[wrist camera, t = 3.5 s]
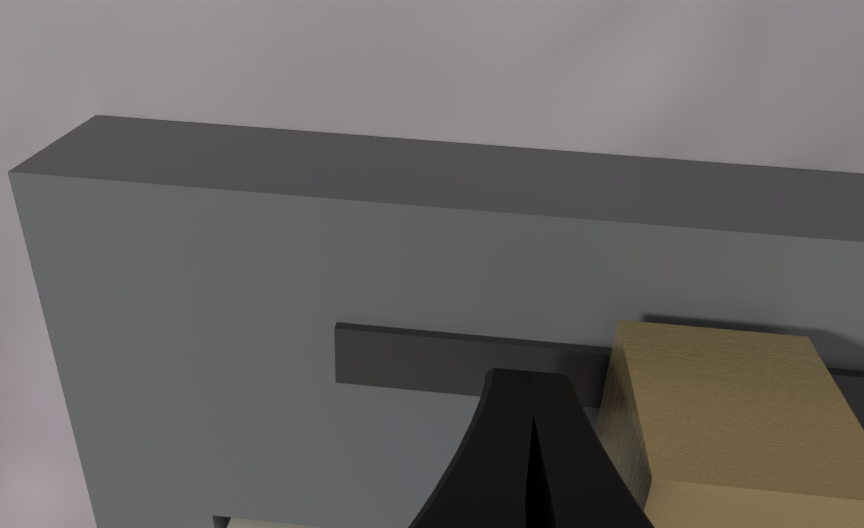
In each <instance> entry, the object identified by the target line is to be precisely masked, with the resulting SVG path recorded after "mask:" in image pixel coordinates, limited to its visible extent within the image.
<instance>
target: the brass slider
mask: <svg viewBox="0 0 864 528" xmlns="http://www.w3.org/2000/svg"><path fill="white" fill-rule="evenodd" d="M595 433H596V435H597V437H598V439H599V441H600V442H601V444H602V446H603V448H604V450H605V451H606V453H607V455H608V456H609V458H610V460H611V461H612V463H613V465H614V466H615V468H616V470H617V472H618V473H619V475H620V477H621V478H622V480H623V481H624V483H625V484H626V486H627V488H628V489H629V491H630V492H631V494H632V495H633V497H634V498H635V500H636V501H637V503H638V504H639V506H640V507H641V509H642V510H643V512H644V513H645V514H646V516H647V517H648V519H649V520H650V522H651V523H652V524H653V526H654V527H655V528H864V430H863V428H862V427H861V425H860V423H859V422H858V420H857V418H856V416H855V415H854V413H853V411H852V410H851V408H850V406H849V405H848V403H847V401H846V400H845V398H844V396H843V395H842V393H841V391H840V390H839V388H838V386H837V385H836V383H835V381H834V380H833V378H832V376H831V374H830V373H829V371H828V369H827V368H826V366H825V364H824V363H823V361H822V359H821V358H820V356H819V354H818V353H817V351H816V349H815V348H814V346H813V344H812V343H811V341H810V339H809V338H808V337H805V336H794V335H783V334H771V333H760V332H749V331H738V330H727V329H716V328H705V327H694V326H683V325H672V324H660V323H649V322H638V321H627V320H618V322H617V327H616V332H615V337H614V342H613V347H612V352H611V357H610V362H609V367H608V372H607V377H606V382H605V387H604V392H603V397H602V402H601V407H600V412H599V417H598V422H597V427H596V432H595Z"/></svg>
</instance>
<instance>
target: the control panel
mask: <svg viewBox="0 0 864 528" xmlns="http://www.w3.org/2000/svg"><path fill="white" fill-rule="evenodd" d="M8 175H9V179H10V183H11V187H12V191H13V195H14V199H15V203H16V207H17V211H18V215H19V219H20V223H21V227H22V230H23V234H24V238H25V242H26V246H27V250H28V254H29V258H30V262H31V266H32V270H33V274H34V278H35V282H36V286H37V290H38V294H39V298H40V302H41V306H42V310H43V314H44V318H45V322H46V326H47V330H48V334H49V338H50V341H51V345H52V349H53V353H54V357H55V361H56V365H57V369H58V373H59V377H60V381H61V385H62V389H63V393H64V397H65V401H66V405H67V409H68V413H69V417H70V421H71V425H72V429H73V433H74V437H75V441H76V445H77V449H78V453H79V456H80V460H81V464H82V468H83V472H84V476H85V480H86V484H87V488H88V492H89V496H90V500H91V504H92V508H93V512H94V516H95V520H96V524H97V528H227V526H228V524H229V522H230V519H231V517H232V518H241V519H250V520H259V521H269V522H278V523H287V524H296V525H305V526H314V527H323V528H408V527H409V525H410V524H411V523H412V521H413V520H414V519H415V517H416V516H417V514H418V513H419V511H420V510H421V509H422V507H423V506H424V504H425V503H426V501H427V500H428V498H429V497H430V495H431V494H432V492H433V491H434V489H435V487H436V486H437V484H438V482H439V480H440V479H441V477H442V475H443V474H444V472H445V470H446V469H447V467H448V465H449V464H450V462H451V460H452V459H453V457H454V455H455V453H456V451H457V449H458V447H459V445H460V443H461V441H462V439H463V437H464V435H465V433H466V431H467V429H468V427H469V425H470V423H471V420H472V418H473V415H474V413H475V411H476V408H477V406H478V403H479V400H480V397H481V394H482V391H483V387H484V383H485V375H486V372H488V371H489V370H491V369H492V368H503V369H514V370H525V371H536V372H547V373H557V374H565V375H566V376H567V377H568V378H569V379H570V380H571V382H572V385H573V387H574V390H575V392H576V394H577V397H578V399H579V401H580V403H581V405H582V408H583V410H584V412H585V414H586V416H587V418H588V420H589V422H590V424H591V426H592V427H593V429H594V431H595V432H596V427H597V422H598V417H599V412H600V407H601V402H602V397H603V392H604V387H605V382H606V377H607V372H608V367H609V362H610V357H611V352H612V347H613V342H614V337H615V332H616V327H617V322H618V320H627V321H638V322H649V323H660V324H672V325H683V326H694V327H705V328H716V329H727V330H738V331H749V332H760V333H771V334H783V335H794V336H805V337H808V338H809V339H810V341H811V343H812V344H813V346H814V348H815V349H816V351H817V353H818V354H819V356H820V358H821V359H822V361H823V363H824V364H825V366H826V368H827V369H828V371H829V373H830V374H831V376H832V378H833V380H834V381H835V383H836V385H837V386H838V388H839V390H840V391H841V393H842V395H843V396H844V398H845V400H846V401H847V403H848V405H849V406H850V408H851V410H852V411H853V413H854V415H855V416H856V418H857V420H858V422H859V423H860V425H861V427H862V428H863V430H864V174H856V173H843V172H830V171H817V170H804V169H791V168H778V167H765V166H751V165H738V164H725V163H712V162H699V161H686V160H673V159H660V158H647V157H634V156H621V155H608V154H595V153H582V152H569V151H556V150H542V149H529V148H516V147H503V146H490V145H477V144H464V143H451V142H438V141H425V140H412V139H399V138H386V137H373V136H360V135H347V134H333V133H320V132H307V131H294V130H281V129H268V128H255V127H242V126H229V125H216V124H203V123H190V122H177V121H164V120H151V119H138V118H124V117H111V116H98V115H95V116H94V117H92V118H91V119H89V120H88V121H86V122H84V123H83V124H81V125H80V126H78V127H77V128H75V129H74V130H72V131H70V132H69V133H67V134H66V135H64V136H63V137H61V138H60V139H58V140H57V141H55V142H53V143H52V144H50V145H49V146H47V147H46V148H44V149H43V150H41V151H39V152H38V153H36V154H35V155H33V156H32V157H30V158H29V159H27V160H26V161H24V162H22V163H21V164H19V165H18V166H16V167H15V168H13V169H12V170H10V171H8Z"/></svg>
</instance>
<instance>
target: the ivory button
mask: <svg viewBox="0 0 864 528" xmlns="http://www.w3.org/2000/svg"><path fill="white" fill-rule="evenodd" d="M227 528H323V527H314V526H305V525H296V524H287V523H278V522H269V521H259V520H250V519H241V518H232V517H231V519H230V522H229V524H228V526H227Z"/></svg>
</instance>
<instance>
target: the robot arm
mask: <svg viewBox="0 0 864 528" xmlns="http://www.w3.org/2000/svg"><path fill="white" fill-rule="evenodd" d="M408 528H655V527H654V526H653V524H652V523H651V522H650V520H649V519H648V517H647V516H646V514H645V513H644V512H643V510H642V509H641V507H640V506H639V504H638V503H637V501H636V500H635V498H634V497H633V495H632V494H631V492H630V491H629V489H628V488H627V486H626V484H625V483H624V481H623V480H622V478H621V477H620V475H619V473H618V472H617V470H616V468H615V466H614V465H613V463H612V461H611V460H610V458H609V456H608V455H607V453H606V451H605V450H604V448H603V446H602V444H601V442H600V441H599V439H598V437H597V435H596V433H595V431H594V429H593V427H592V426H591V424H590V422H589V420H588V418H587V416H586V414H585V412H584V410H583V408H582V405H581V403H580V401H579V399H578V397H577V394H576V392H575V390H574V387H573V385H572V382H571V380H570V379H569V378H568V377H567V376H566V375H565V374H557V373H547V372H536V371H525V370H514V369H503V368H492V369H491V370H489V371H488V372H486V375H485V383H484V387H483V391H482V394H481V397H480V400H479V403H478V406H477V408H476V411H475V413H474V415H473V418H472V420H471V423H470V425H469V427H468V429H467V431H466V433H465V435H464V437H463V439H462V441H461V443H460V445H459V447H458V449H457V451H456V453H455V455H454V457H453V459H452V460H451V462H450V464H449V465H448V467H447V469H446V470H445V472H444V474H443V475H442V477H441V479H440V480H439V482H438V484H437V486H436V487H435V489H434V491H433V492H432V494H431V495H430V497H429V498H428V500H427V501H426V503H425V504H424V506H423V507H422V509H421V510H420V511H419V513H418V514H417V516H416V517H415V519H414V520H413V521H412V523H411V524H410V525H409V527H408Z"/></svg>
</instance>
